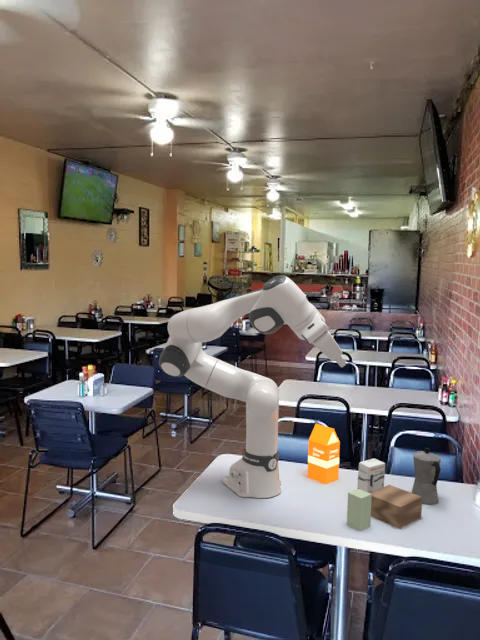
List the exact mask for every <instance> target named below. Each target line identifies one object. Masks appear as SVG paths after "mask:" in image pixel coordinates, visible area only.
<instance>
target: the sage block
mask: <svg viewBox="0 0 480 640" xmlns="http://www.w3.org/2000/svg"><path fill="white" fill-rule="evenodd" d="M371 500H372V494H370V493H368V492H365V491H363V490H360V489H357V488H356V489H354V490H352V491H349V492H347V505H346V506H347V511H346V525H347V526H350V527H351V528H353V529H355V530H357V531H360V532H361V531H363V530H365V529H367V528H369V527H371V520H372V519H371Z"/></svg>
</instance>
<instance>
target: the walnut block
mask: <svg viewBox="0 0 480 640" xmlns="http://www.w3.org/2000/svg"><path fill="white" fill-rule="evenodd" d="M370 494H372V500H371V517H372V518H374V519H376V520H378V521H380V522H383V523H385V524H388V525H390V526H392V527H394V528H397V529H398V530H401V529H403V528H404V526H405V527H407V526H408V525H410V524H412V523H414V522H416V521H417V520H420V519H421V518H422V510H423V509H422V507H423V504H422V497H421V496H418V495H415V494H413V493H412V492H411V491H407V490H405V489H401V488H399V487H397V486H393V484H392V485H391V484H387V485H384V487H382V488H380V489H378V490H375V491H373V492H370ZM402 527H403V528H402Z"/></svg>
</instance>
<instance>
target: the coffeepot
mask: <svg viewBox="0 0 480 640" xmlns="http://www.w3.org/2000/svg"><path fill="white" fill-rule="evenodd" d="M412 457H413V468H414V475H415V478H414V481H413V486H412V489H411V493H413V494H415V495H418V496H421V497H422V505H426V506H427V505H430V506H431V505H436V504H438V503H439V497H438V496H439V495H438V489H437V488H438V487H437V484H438V481H439V477H440V474H441V469H442V468H441V461H442V459H441V456H440V455H437V454H435V453H434V452H430V448H429V447H424V451H423V450H419V451H418V450H416V452H413V453H412Z"/></svg>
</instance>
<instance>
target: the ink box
mask: <svg viewBox="0 0 480 640" xmlns="http://www.w3.org/2000/svg"><path fill="white" fill-rule="evenodd" d="M357 471H358V472H357V473H358V474H357V486H356V487H357V488H356V489H360V490H363V491H365V492H368V493H370V492H373V491H375V490H378V489H380V488H382V487H385V478H386V477H385V473H386V462H384V461H381V460H379V459H377V458H370V459H366V460H363V461H360V462H359V463H358V470H357Z"/></svg>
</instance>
